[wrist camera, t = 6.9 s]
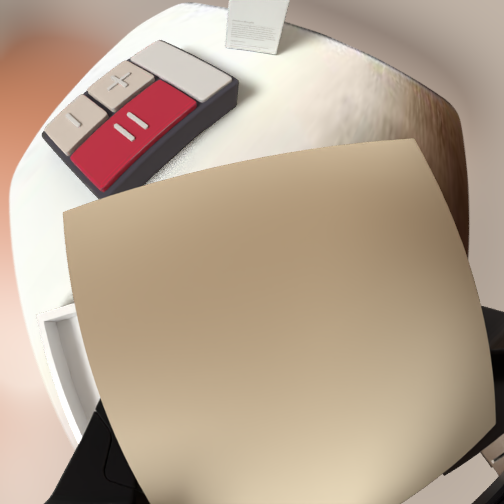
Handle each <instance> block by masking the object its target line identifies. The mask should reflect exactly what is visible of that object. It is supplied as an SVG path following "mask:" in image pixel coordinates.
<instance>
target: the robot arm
mask: <svg viewBox="0 0 504 504" xmlns="http://www.w3.org/2000/svg"><path fill="white" fill-rule="evenodd" d="M481 308H482V313H483V317H484V322H485V327H486V332H487V337H488V343H489V349H490V356H491V363H492V372H493V381H494V393H495V413H496V424H495V425H494V426H493V427H492V428H491V430H490V431H489V432H488V433H487V434H486V435H485V436H484V437H483V438H482V439H481V440H480V441H479V442H478V443H477V444H476V445H475V446H474V447H473V448H472V449H470V450H469V451H468V452H467V453H466V454H465V455H464V456H463V457H462V458H461V459H459V460H458V461H457V462H456V463H455V464H454V465H453V466H451V467H450V468H449V469H448V470H447V471H445V472H444V473H443V475H444V476H445V475H446V474H448V473H450V472H451V471H453V470H455V469H456V468H458V467H459V466H461V465H462V464H464V463H465V462H467V461H468V460H470V459H471V458H473V457H474V456H475V455H477V454H478V453H481V454H482V455H483V457H484V458H485V459H486V461H487V462H488V463H489V465H490V466H491V467H493V468H494V470H495V471H496V472H497V474H498V475H499V477H498V478H497V479H496V480H495V481H494V482H493V483H492V484H491V486H489V487H488V488H487V489H486V490H485V491H484V492H483V493H482V494H481V495H480V496H479V497H478V498H477V499H476V500H475V501H474V502H473V503H472V504H504V312H502V311H498V310H495V309H491V308H488V307H484V306H481ZM95 410H96V411H94V412H93V414H92V417H91V419H90V421H89V423H88V425H87V428H86V430H85V432H84V434H83V436H82V439H81V440H80V442H79V444H78V446H77V448H76V450H75V452H74V454H73V456H72V458H71V460H70V462H69V463H68V465H67V467H66V469H65V471H64V473H63V475H62V477H61V478H60V481H59V483H58V484H57V486H56V488H55V490H54V492H53V493H52V495H51V496H50V498H49V499H48V500H47V501H46V502H45V503H44V504H150V502H149V501H148V499H147V497H146V495H145V494H144V492H143V490H142V488H141V487H140V485H139V483H138V481H137V479H136V477H135V476H134V474H133V472H132V470H131V468H130V466H129V464H128V462H127V460H126V458H125V456H124V454H123V451H122V449H121V447H120V445H119V443H118V440H117V438H116V436H115V434H114V431H113V429H112V426H111V424H110V422H109V419H108V417H107V414H106V411H105V409H104V406H103V403H102V401H101V398H100V399H99V401H98V403H97V406H96V408H95Z"/></svg>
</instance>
